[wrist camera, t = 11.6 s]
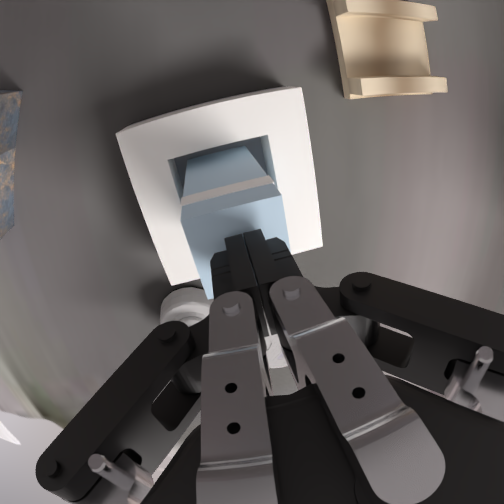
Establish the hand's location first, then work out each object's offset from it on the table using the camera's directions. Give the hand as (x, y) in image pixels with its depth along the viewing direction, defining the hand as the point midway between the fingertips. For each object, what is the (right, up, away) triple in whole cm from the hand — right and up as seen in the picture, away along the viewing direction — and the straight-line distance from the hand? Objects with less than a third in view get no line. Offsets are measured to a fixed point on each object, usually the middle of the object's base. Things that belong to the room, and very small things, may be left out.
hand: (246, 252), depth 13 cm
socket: (-2, +6, +10) cm, 11 cm away
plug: (-2, +5, +9) cm, 10 cm away
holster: (+10, +16, +6) cm, 20 cm away
